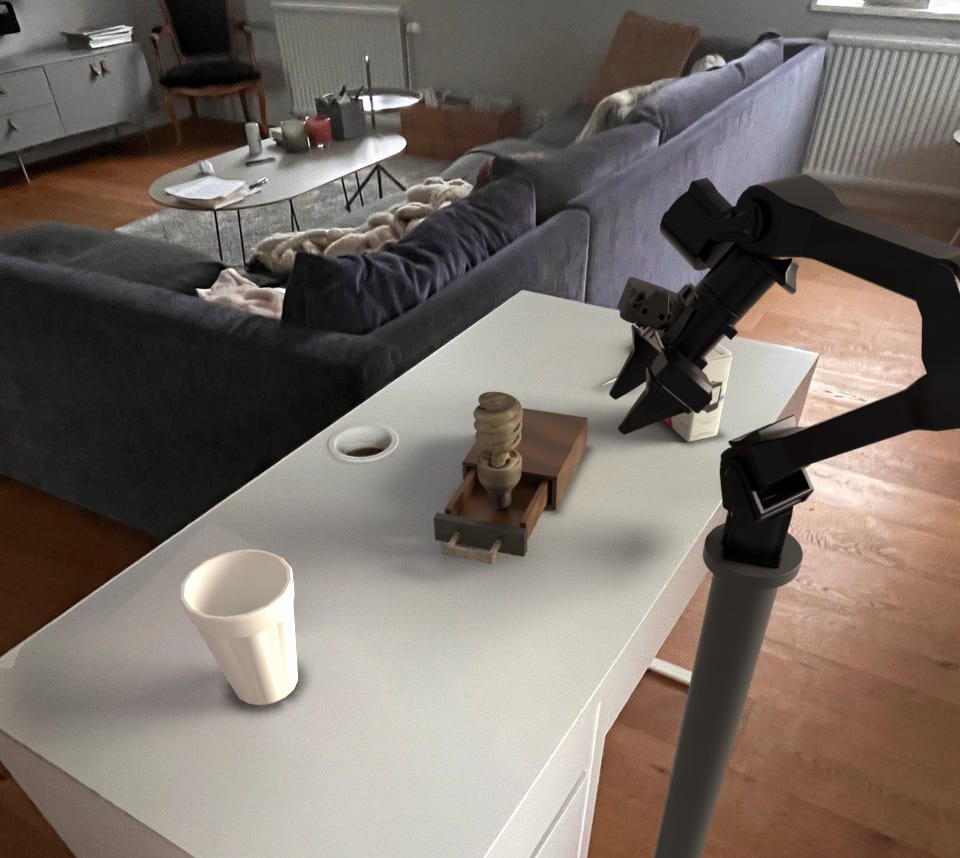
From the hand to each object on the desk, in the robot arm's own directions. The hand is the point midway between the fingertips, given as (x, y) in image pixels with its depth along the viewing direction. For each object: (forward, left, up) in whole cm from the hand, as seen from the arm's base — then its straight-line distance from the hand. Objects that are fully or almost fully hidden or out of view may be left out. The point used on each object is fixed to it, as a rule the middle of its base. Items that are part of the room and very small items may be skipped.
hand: (616, 413), depth 92 cm
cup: (+25, +39, -14) cm, 48 cm away
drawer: (+12, +7, -13) cm, 19 cm away
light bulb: (+12, +6, -12) cm, 18 cm away
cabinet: (+12, -6, -13) cm, 19 cm away
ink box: (-6, -24, -14) cm, 28 cm away
